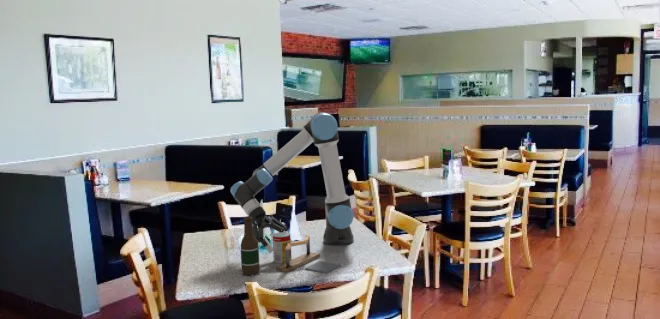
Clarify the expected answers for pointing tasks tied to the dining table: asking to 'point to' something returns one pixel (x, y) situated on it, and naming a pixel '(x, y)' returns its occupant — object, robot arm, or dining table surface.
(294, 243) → the wooden frame rack
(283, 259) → the canned food
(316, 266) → the charcoal mat
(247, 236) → the beer bottle
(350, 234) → the robot arm
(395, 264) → the dining table surface
